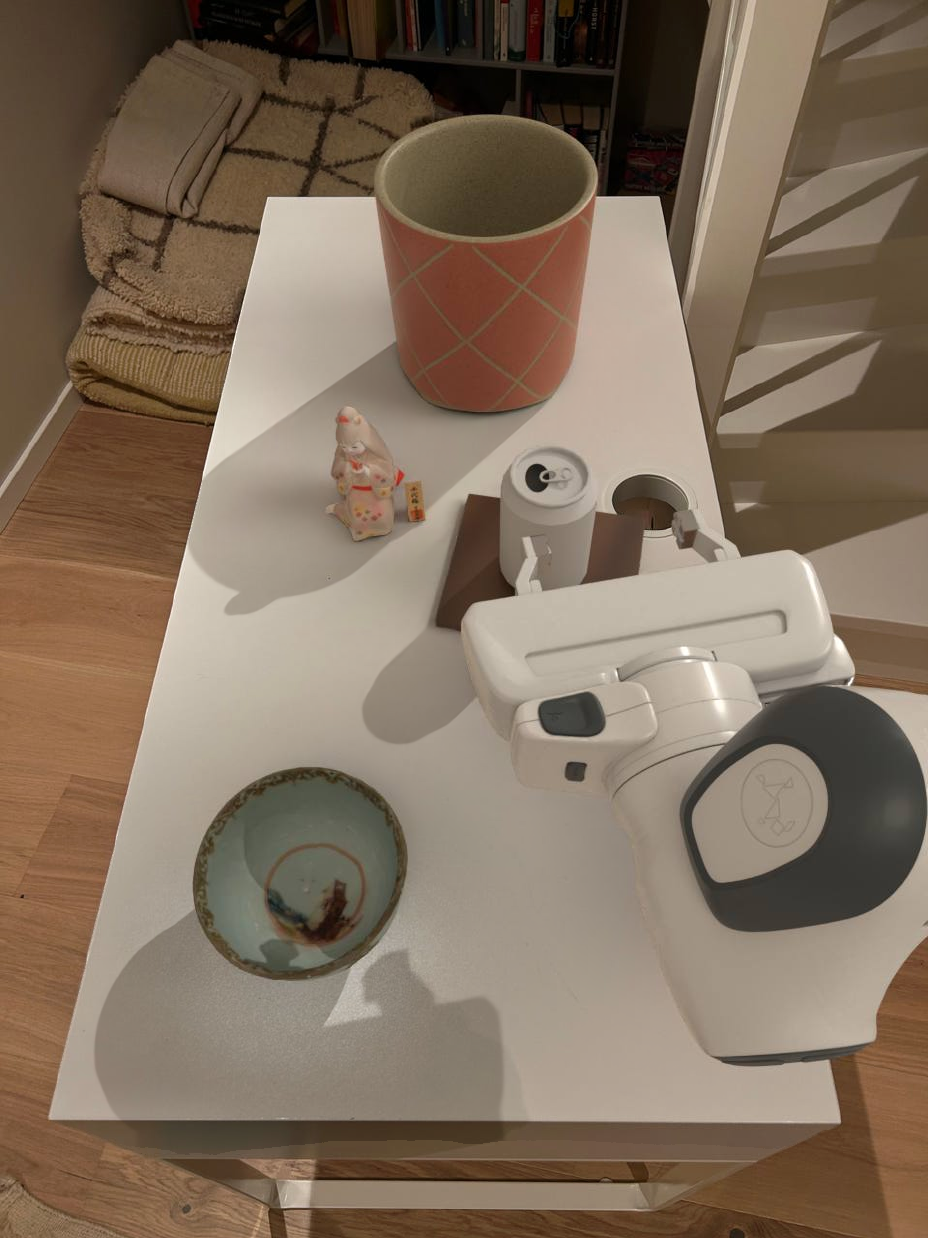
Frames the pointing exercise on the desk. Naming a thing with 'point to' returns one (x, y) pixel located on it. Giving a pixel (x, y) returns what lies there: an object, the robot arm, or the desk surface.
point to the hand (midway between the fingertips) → (608, 528)
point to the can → (548, 512)
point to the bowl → (300, 874)
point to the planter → (486, 257)
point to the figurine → (368, 479)
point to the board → (479, 557)
